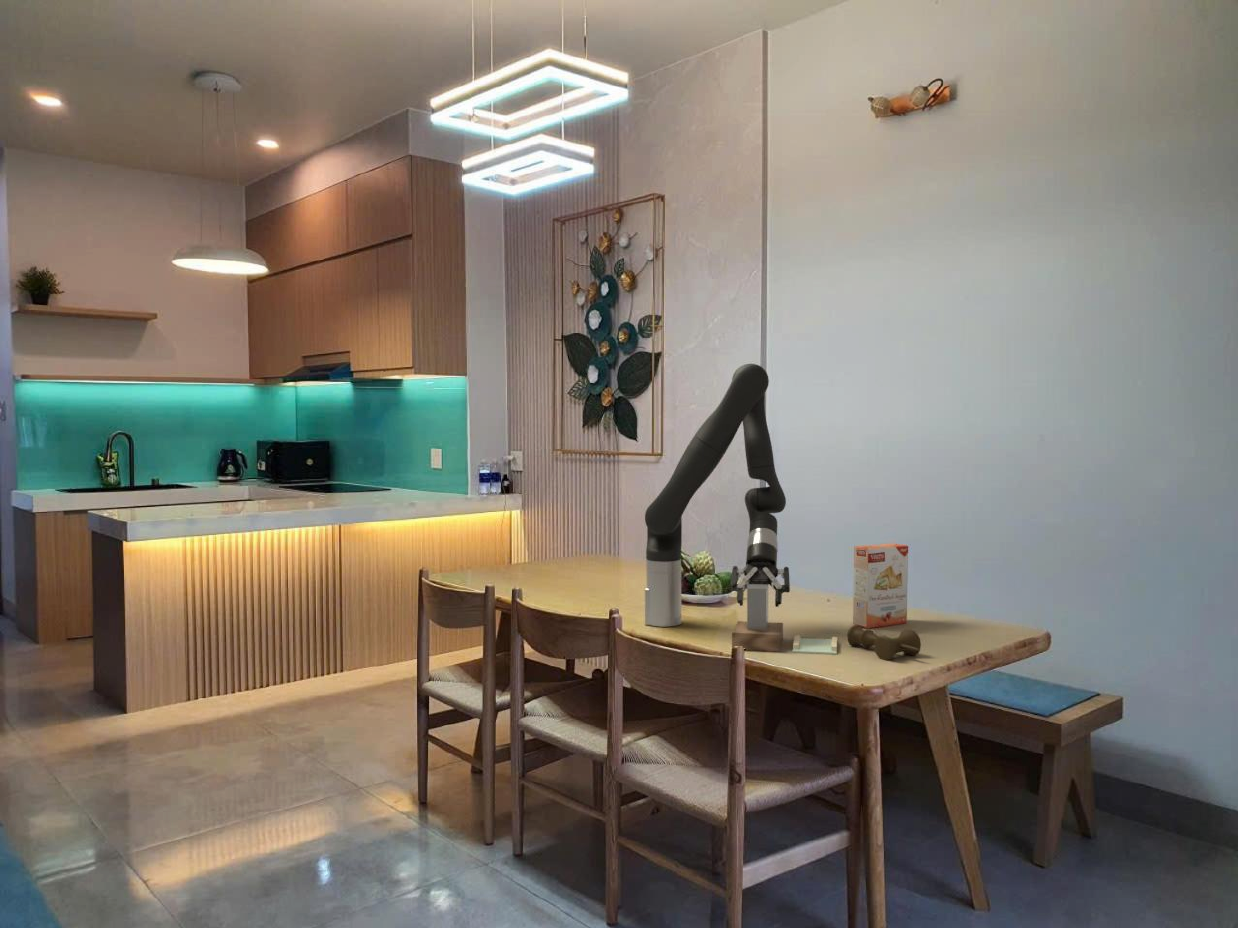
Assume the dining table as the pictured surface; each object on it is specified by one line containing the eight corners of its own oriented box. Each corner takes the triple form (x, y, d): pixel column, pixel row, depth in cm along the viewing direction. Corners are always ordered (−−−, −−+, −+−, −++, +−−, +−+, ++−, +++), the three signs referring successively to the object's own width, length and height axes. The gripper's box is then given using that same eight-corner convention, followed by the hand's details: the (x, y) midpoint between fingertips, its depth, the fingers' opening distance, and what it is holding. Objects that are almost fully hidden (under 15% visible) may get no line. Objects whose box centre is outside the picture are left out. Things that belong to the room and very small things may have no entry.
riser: (732, 649, 219) (731, 632, 219) (738, 637, 232) (738, 621, 232) (779, 651, 217) (779, 634, 217) (782, 639, 229) (782, 622, 229)
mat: (792, 652, 216) (792, 646, 216) (795, 639, 229) (795, 633, 229) (836, 654, 214) (836, 648, 214) (837, 641, 226) (837, 635, 226)
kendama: (868, 644, 225) (934, 659, 208) (838, 650, 220) (904, 667, 203) (867, 620, 225) (933, 633, 208) (837, 625, 220) (903, 639, 203)
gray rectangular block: (747, 629, 222) (747, 588, 221) (749, 624, 228) (749, 583, 227) (766, 630, 221) (766, 588, 220) (768, 625, 227) (768, 584, 226)
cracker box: (868, 629, 239) (868, 548, 238) (852, 624, 245) (852, 545, 244) (908, 623, 246) (909, 544, 245) (892, 619, 251) (892, 542, 250)
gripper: (732, 540, 233) (727, 594, 223) (790, 541, 230) (788, 596, 219) (735, 559, 239) (730, 612, 228) (791, 559, 235) (789, 614, 225)
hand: (758, 604), depth 224 cm, fingers open, 8 cm apart
